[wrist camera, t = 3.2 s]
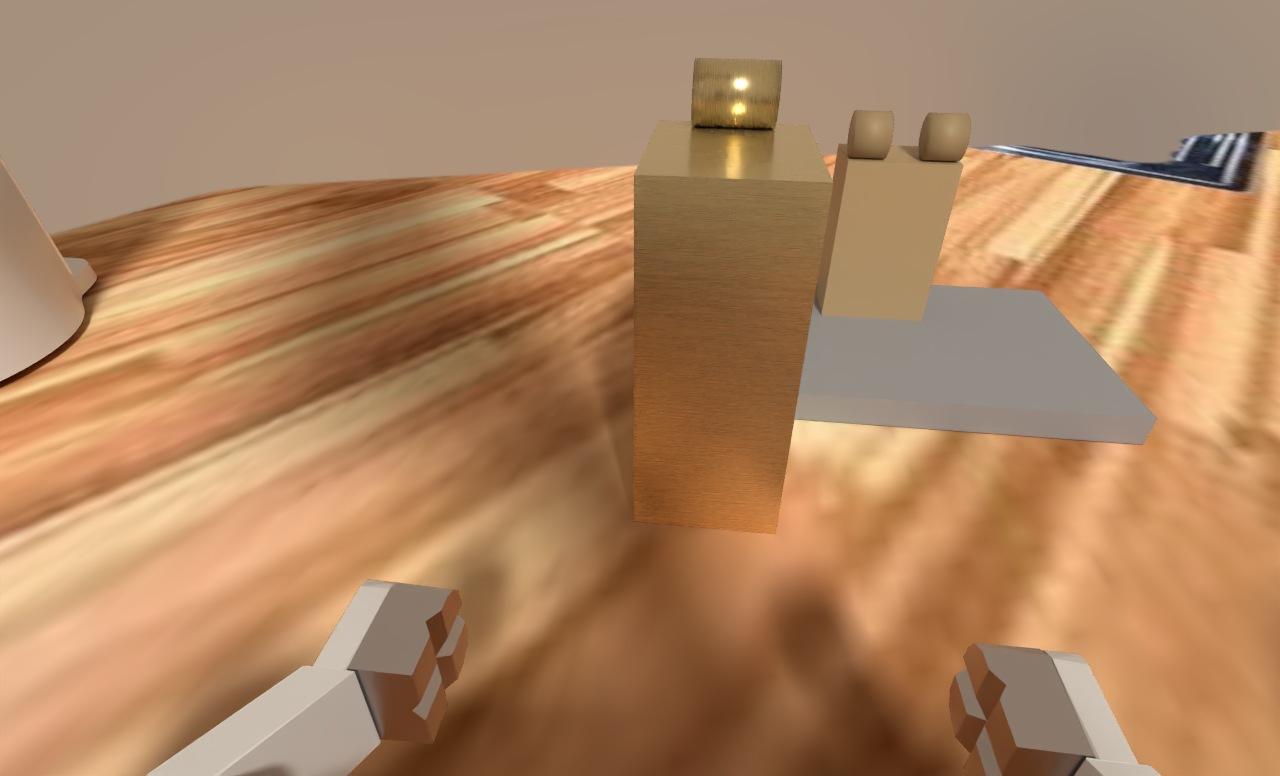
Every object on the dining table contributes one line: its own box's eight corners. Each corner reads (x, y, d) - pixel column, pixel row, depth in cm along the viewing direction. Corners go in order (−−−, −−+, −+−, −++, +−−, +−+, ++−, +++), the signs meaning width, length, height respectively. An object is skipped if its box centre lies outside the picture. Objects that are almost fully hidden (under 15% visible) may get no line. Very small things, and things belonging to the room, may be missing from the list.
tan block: (633, 521, 21) (633, 89, 14) (653, 409, 27) (661, 53, 20) (775, 534, 21) (847, 95, 14) (767, 417, 26) (816, 57, 19)
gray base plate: (662, 409, 26) (671, 150, 21) (681, 292, 36) (690, 90, 30) (1143, 444, 25) (1288, 173, 19) (1033, 312, 34) (1110, 102, 28)
